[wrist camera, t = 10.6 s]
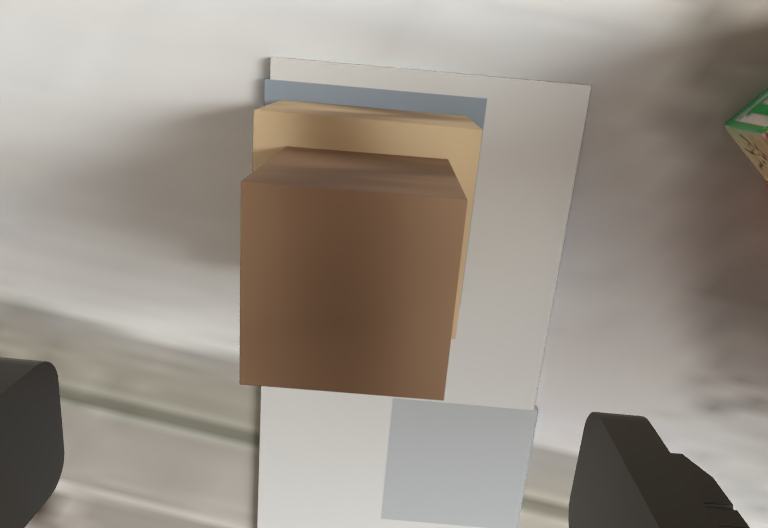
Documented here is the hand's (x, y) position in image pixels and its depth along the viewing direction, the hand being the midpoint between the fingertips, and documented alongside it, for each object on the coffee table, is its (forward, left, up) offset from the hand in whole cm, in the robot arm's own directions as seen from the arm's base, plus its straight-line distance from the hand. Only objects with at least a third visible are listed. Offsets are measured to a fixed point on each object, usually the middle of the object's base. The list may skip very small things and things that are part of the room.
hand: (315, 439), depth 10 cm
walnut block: (0, 0, -12) cm, 12 cm away
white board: (-2, +6, -17) cm, 18 cm away
